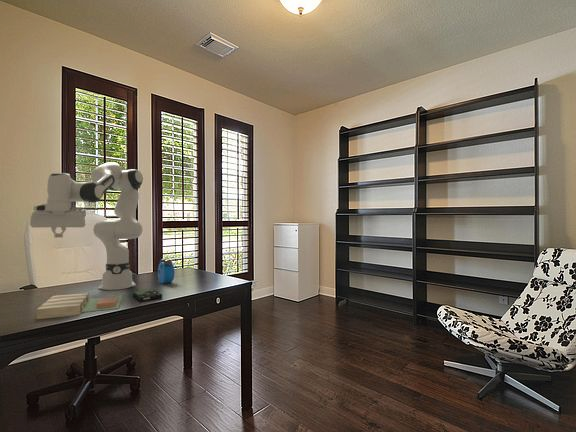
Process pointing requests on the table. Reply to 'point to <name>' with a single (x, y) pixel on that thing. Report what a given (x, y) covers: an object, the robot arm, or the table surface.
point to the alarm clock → (165, 271)
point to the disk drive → (147, 295)
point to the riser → (63, 306)
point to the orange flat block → (107, 302)
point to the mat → (92, 306)
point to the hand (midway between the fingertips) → (58, 237)
